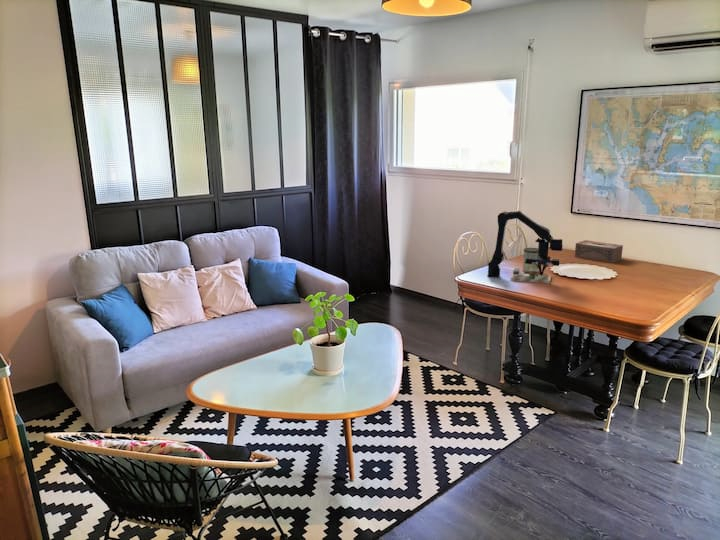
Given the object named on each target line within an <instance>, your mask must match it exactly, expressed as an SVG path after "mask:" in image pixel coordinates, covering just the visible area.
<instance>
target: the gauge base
mask: <svg viewBox="0 0 720 540" xmlns="http://www.w3.org/2000/svg"><path fill="white" fill-rule="evenodd" d="M551 277H552V276H551V275H547V274H543V275H542V276H541V275H540V274H539V275H538V276H534V279H533V276H529V274H524V272H522V273H520V268H516V267H515V268H514V269H513V272H512V274H511V277H510V281H517V282H526V283H527V282H530V283H540V284H541V283H543V284H551V279H552V278H551Z"/></svg>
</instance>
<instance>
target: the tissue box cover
mask: <svg viewBox="0 0 720 540" xmlns="http://www.w3.org/2000/svg"><path fill="white" fill-rule="evenodd" d="M623 248H624V245H623V244H618V243H617V244H616V243H608V242H603V241H602V242H601V241H595V240H594V241H593V240H588V239H585V240H582V241H579V242H576V243H575V247H574V249H575V250H574V258H579V259H585V260H592V261H598V262H605V263H609V264H610V263H611V264H613V263H615V262H619V261H621V260H622V257H623V250H624V249H623Z"/></svg>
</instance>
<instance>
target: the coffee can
mask: <svg viewBox="0 0 720 540" xmlns="http://www.w3.org/2000/svg"><path fill="white" fill-rule="evenodd" d="M537 256H538V248H537V247H525V248H524V249H523V260H522V261H523V262H522V272H524V271H530V268H535V269H539V268H538V266H536V263H535V262H532V263H531V264H526V263H525V262H526V258H527V257H531V258H533V259H537ZM539 273H540V271H539Z"/></svg>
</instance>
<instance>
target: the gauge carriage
mask: <svg viewBox="0 0 720 540" xmlns="http://www.w3.org/2000/svg"><path fill="white" fill-rule="evenodd" d="M539 273H540V272H539V269H535V268H530V271H523V274H529V276H533V279H534V276H538V275H540V274H539Z"/></svg>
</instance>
